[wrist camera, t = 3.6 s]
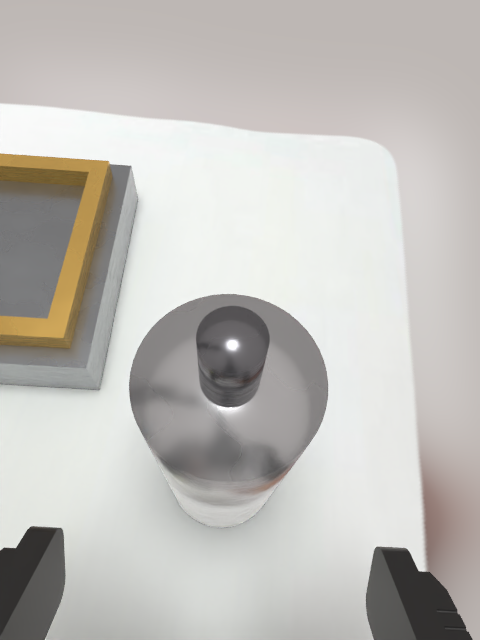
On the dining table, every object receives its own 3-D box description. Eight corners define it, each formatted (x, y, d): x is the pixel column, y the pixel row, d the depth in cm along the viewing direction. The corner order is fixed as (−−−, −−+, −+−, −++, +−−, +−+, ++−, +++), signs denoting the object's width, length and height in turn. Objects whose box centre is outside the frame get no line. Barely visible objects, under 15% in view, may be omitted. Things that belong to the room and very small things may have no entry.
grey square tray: (-123, 376, 25) (-181, 342, 21) (-37, 187, 32) (-69, 137, 28) (99, 389, 25) (79, 358, 22) (137, 199, 32) (128, 150, 28)
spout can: (165, 524, 22) (88, 452, 9) (177, 419, 25) (131, 235, 11) (272, 530, 22) (362, 467, 9) (273, 424, 25) (343, 249, 11)
